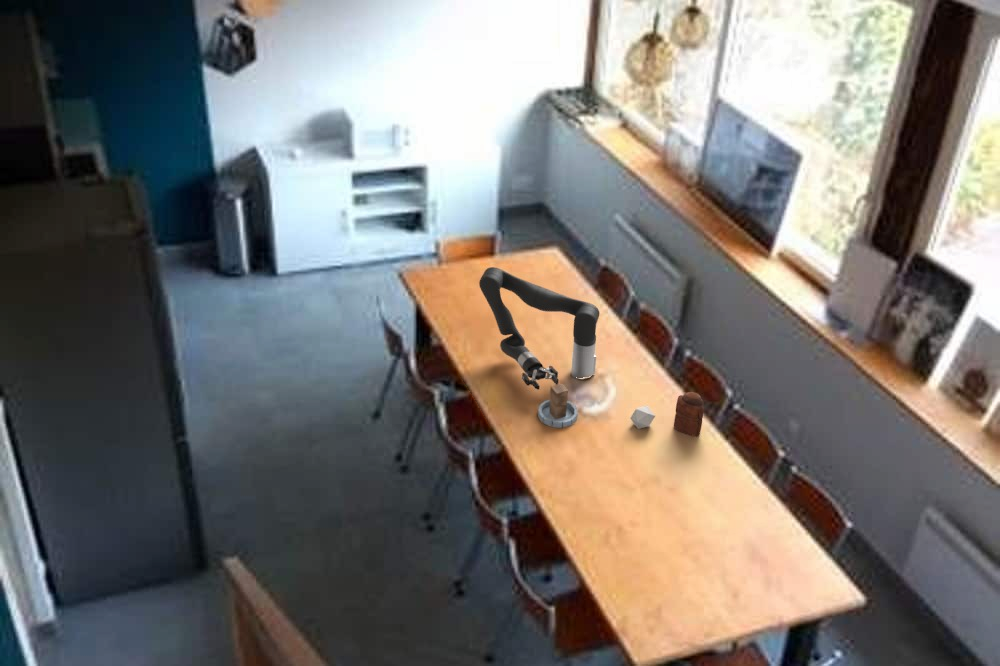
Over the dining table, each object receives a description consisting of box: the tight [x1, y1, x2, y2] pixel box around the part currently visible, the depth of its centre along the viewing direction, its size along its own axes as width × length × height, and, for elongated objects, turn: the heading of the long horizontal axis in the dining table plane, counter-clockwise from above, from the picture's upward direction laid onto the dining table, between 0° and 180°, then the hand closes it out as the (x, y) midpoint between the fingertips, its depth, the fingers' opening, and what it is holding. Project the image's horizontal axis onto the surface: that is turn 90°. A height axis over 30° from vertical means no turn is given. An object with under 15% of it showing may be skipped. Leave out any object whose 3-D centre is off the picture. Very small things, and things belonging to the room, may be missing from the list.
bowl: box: [537, 398, 578, 429], centre depth 419 cm, size 16×16×3 cm
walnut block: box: [549, 383, 569, 419], centre depth 415 cm, size 5×5×13 cm
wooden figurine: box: [673, 391, 705, 437], centre depth 409 cm, size 12×6×18 cm, turn 61°
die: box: [629, 405, 656, 430], centre depth 413 cm, size 8×9×10 cm
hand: (548, 385), depth 422 cm, fingers open, 8 cm apart
